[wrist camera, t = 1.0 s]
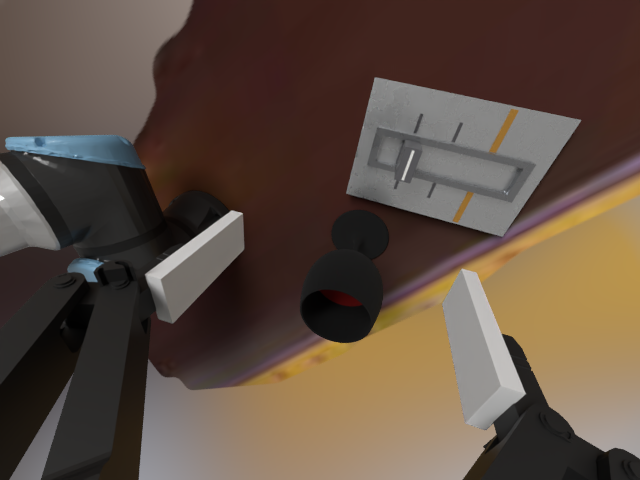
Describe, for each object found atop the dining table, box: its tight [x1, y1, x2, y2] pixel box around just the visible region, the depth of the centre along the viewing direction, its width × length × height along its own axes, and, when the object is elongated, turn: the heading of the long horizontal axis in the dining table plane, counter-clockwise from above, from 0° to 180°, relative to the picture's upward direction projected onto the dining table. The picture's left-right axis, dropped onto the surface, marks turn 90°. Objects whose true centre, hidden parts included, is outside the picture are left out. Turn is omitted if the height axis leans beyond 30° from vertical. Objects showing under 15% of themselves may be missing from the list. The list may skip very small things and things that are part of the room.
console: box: [346, 77, 581, 237], centre depth 36 cm, size 24×16×3 cm, turn 79°
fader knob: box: [394, 139, 423, 183], centre depth 33 cm, size 2×4×6 cm, turn 170°
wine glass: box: [300, 210, 389, 343], centre depth 38 cm, size 10×10×20 cm
